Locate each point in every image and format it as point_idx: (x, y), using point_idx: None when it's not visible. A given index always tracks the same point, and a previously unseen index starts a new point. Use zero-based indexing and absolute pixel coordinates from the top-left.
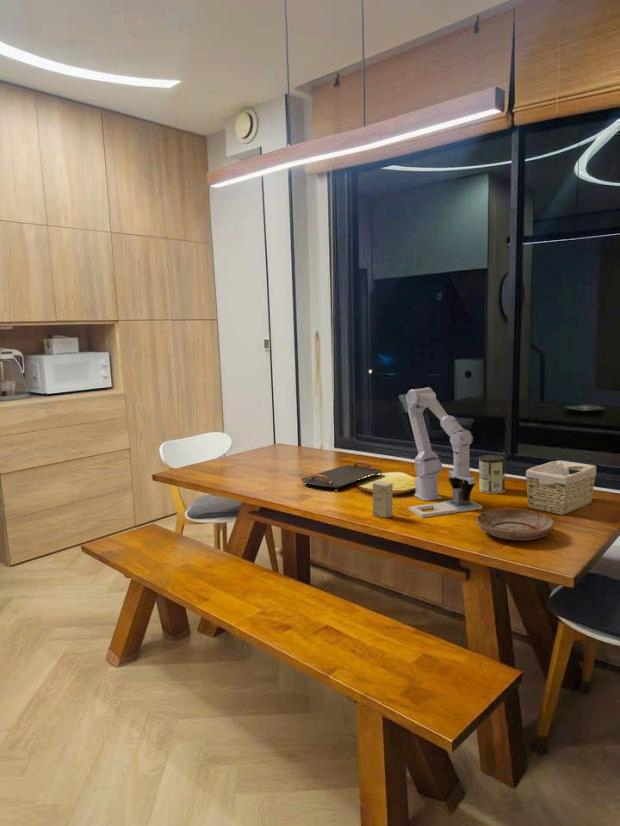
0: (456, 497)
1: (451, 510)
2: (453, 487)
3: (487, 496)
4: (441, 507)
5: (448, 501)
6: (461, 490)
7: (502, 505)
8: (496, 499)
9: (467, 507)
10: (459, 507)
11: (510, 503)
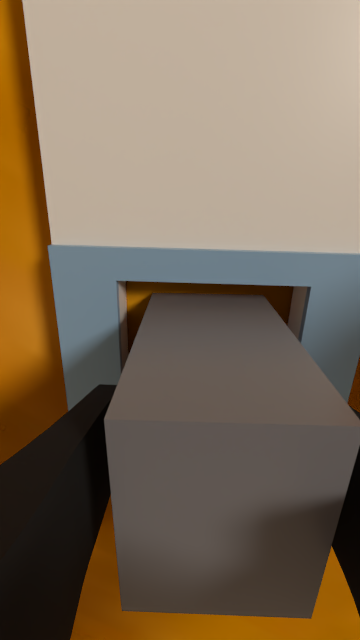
0: (184, 345)
1: (39, 137)
2: None
3: (322, 617)
4: (197, 69)
5: (339, 295)
6: (142, 499)
7: (111, 588)
8: (237, 621)
9: (63, 357)
10: (76, 277)
11: (129, 631)
